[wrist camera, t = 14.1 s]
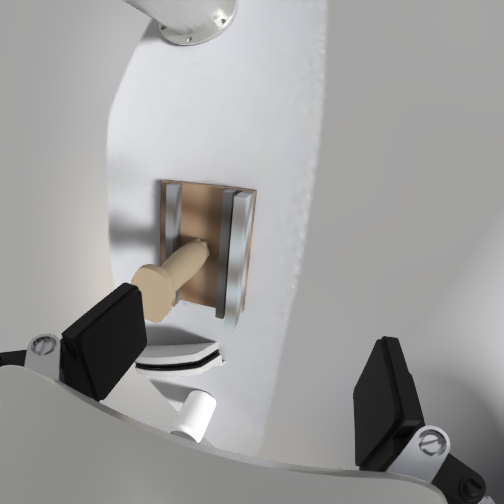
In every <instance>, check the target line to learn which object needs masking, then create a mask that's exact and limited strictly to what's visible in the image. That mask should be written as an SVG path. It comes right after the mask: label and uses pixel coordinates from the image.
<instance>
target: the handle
mask: <svg viewBox="0 0 504 504" xmlns="http://www.w3.org/2000/svg"><path fill="white" fill-rule="evenodd" d="M209 254H210V250H209V248H208V243H207V242H206V241H201V240H200V239H195V240H193V242H190V243H187V244H186V245H184V246H182V247H181V248H179V249H178V250H177V251H175V252H174V253H173V254H172V255H171V256H170V257H169V258H168V259H167V260H166V261H165V262H164V263H163V264H162V265H161V266H160V267H159V266H156V265H153V264H147V265H143V266H142V267H140V268H139V269H138V270H137V272H136V273H135V275H134V276H133V278H132V280H131V284H132V285H136V286H138V288H139V290H140V291H141V292H142V302H143V312H144V318H145V319H147V320H149V321H152V322H161V321H162V320H163V319H164V317H165V316H166V315H167V314H168V313H169V311H170V310H171V309H172V307H173V305H174V302H175V298H176V291H177V290H178V289H179V288H180V287H181V286H182V285H183V284H184V283H186V282H187V281H188V280H189V279H190V278H191V277H192V276H194V275H195V274H196V273H197V272H198V270H199V269H200V268H201V267H202V265H203V264H204V262H205V260H206V258H207V257H208V256H209Z"/></svg>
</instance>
